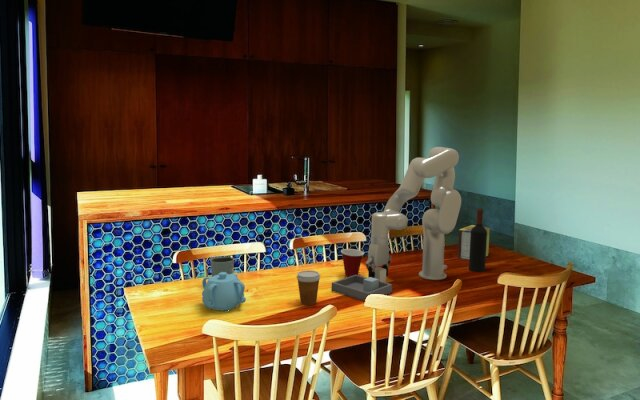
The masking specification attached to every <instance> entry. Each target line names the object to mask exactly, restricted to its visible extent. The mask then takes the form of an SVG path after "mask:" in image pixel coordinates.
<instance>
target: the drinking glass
mask: <svg viewBox="0 0 640 400" xmlns="http://www.w3.org/2000/svg"><path fill="white" fill-rule="evenodd" d="M209 261H210V262H209V263H210V269H211V277H213V276H215V275H219V273H221V272H226V273H227V274H234V266H235V265H234V263H235V258H234V257H231V256H216V257H212V258H210V260H209Z"/></svg>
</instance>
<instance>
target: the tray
mask: <svg viewBox="0 0 640 400" xmlns="http://www.w3.org/2000/svg"><path fill="white" fill-rule="evenodd" d="M366 278H367V277H365V276H362V275H360V274H358V275H353V276H350V277H345V278H341V279H338V280H336V281H332V282H331V291H332V292H335V293H338V294H340V295H344V296H347V297H351V298H353V299H356V300H360V301H363V302H366V301H365V299H366V297H367V296H368V295H370V294H384V295H385V296H387V294H388V295H389V294H392V293H393V284H392V283H388V282H381V281H379V287H378V289H376V290H373V291H371V292H365V291H363V279H366Z"/></svg>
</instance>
